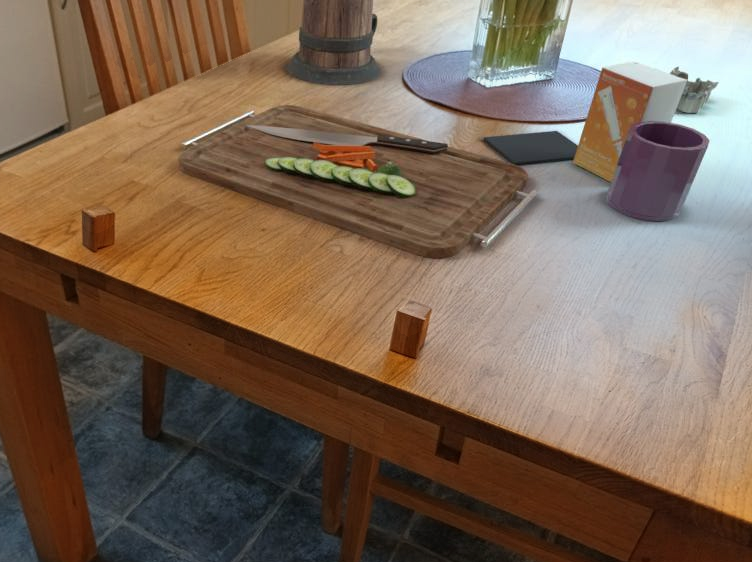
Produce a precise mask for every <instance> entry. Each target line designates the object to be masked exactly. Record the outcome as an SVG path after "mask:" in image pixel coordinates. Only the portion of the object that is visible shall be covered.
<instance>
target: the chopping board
mask: <svg viewBox="0 0 752 562" xmlns="http://www.w3.org/2000/svg"><path fill="white" fill-rule="evenodd" d="M181 148H182V149H184V150H183V151H181V152H180V153H179V155H178V167H179V169H180V171H181V172H183V173H184V174H186V175H188V176H192V177H194V178H197V179H200V180H203V181H205V182H209V183H211V184H214V185H216V186H219V187H222V188H225V189H229V190H231V191H233V192H237V193H240V194H243V195H245V196H249V197H252V198H254V199H257V200H260V201H262V202H264V203H265V202H266V203H269V204H272V205H274V206H276V207H280V208H281V209H282V208H283V209H285V210H288V211H291V212H294V213H297V214H300V215H303V216H305V217H308V218H311V219H314V220H317V221H320V222H323V223H326V224H329V225H331V226H334V227H337V228H340V229H343V230H346V231H349V232H351V233H353V234H357V235H360V236H363V237H366V238H367V239H368V238H369V239H371V240H374V241H377V242H380V243H382V244H385V245H389V246H390V247H393V248H397V249H400V250H403V251H404V252H405V251H406V252H408V253H411V254H414V255H417V256H420V257H425V258H428V259H429V258H430V259H445V258H450V257H453V256H455V255H458V254H459V253H460V252H461V251H462V250H463V249H464V248H466V246H468V244H469V243H470V242H471V241H472V240H473V239H477V240H480V241H481V242H480V246H481V247H482V248H488V246H489V245H490V244H491V243H492V242H493V241H494V240H495V239H496V238H497V237H498V236H499V235H500V234H501V233H502V231H504V229H505V228H506V227H507V226H509V224H510V223H512V221H513V220H514V219H515V218H517V216H518V215H519V214H520V213H521V212H522V211H523V210H524V209H525V208H526V207H527V205H529V204H530V202H531V201H533V199H534V198H535V197H537V196H538V192H537V190H535V189H532V190H531V191H529V193H526V192H523V190H524V189H525V186H526V183H527V181H528V180H527V179H528V176H529V174H528V172H527V171H526V169H524V168H523V167H521V166H520V165H514V164H512V163H511V162H508V161H504V160H500V159H498V158H492V157H490V156H486V155H482V154H478V153H474V152H470V151H466V150H463V149H459V148H456V147H452V146H449V144H448V143H446V142H445V143H444V142H438V141H430V140H427V139H422V138H420V137H415V136H412V135H408V134H405V133H401V132H397V131H393V130H389V129H386V128H382V127H377V126H374V125H371V124H368V123H363V122H360V121H356V120H354V119H353V120H352V119H349V118H346V117H342V116H338V115H334V114H331V113H327V112H323V111H319V110H316V109H311V108H308V107H304V106H300V105H295V104H283V105H282V104H281V105H277V106H273V107H271V108H268V109H267V110H264V111H262V112H260V113H258V114H255V111H254V110H253V109H250V110H248V111H246V112H244V113H242V114H241V115H238V116H236V117H233V118H232V119H230V120H227V121H225V122H223V123H221V124H219V125H217V126H215V127H213V128H211V129H208V130H206V131H204V132H202V133H200V134H198V135H195V136H194V137H192V138H190V139H188V140H186V141H183V142H182V143H181ZM517 196H519V197H521V198H522V199H521V201H520V202H519V203H518V204H517V205H516V206H514V208H513V209H512V210H511V211H510V212H509V213H508V214H507V215H506V216H505V217H504V218H503V219H502V220H501V221H500V222H499V223H498V224H497V225H496V226H495V227H494V228H493V229H492V230H491V231H490V232H489V233H488V234H487V235H486V236H485V235H483V234H480V233H481V232H482V231H483V229H484V228H486V226H487V225H488V224H489V223H491V221H493V219H494V218H496V216H498V215H499V214H500V212H502V210H504V208H506V206H507V205H508V204H510V203H511V202H512V201H513V200H514V198H516V197H517Z"/></svg>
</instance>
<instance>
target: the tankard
mask: <svg viewBox="0 0 752 562" xmlns="http://www.w3.org/2000/svg"><path fill="white" fill-rule="evenodd" d="M373 10H374V0H303V2H302V13H301V14H302V15H301V17H302V18H301V26H300V27H299V31H298V42H299V47H298V49H299V50H298V51H296V52H295V54H294V55H293V56H292V59H291V60H290V61H289V62H288V63H287V65H286V71H287V72H288V73H289V75H290V76H293V77H295V78H297V79H299V80H303V81H305V82H311V83H316V84H321V85H337V86H339V85H340V86H342V85H357V84H362V83H367V82H370V81H373V80H374V79H377V78H378V77H379V76H380V75H381V68H380V67H379V66H378V65H377V63H376V59H375V57H374V56H373V55H372V54H371V48H372V44H373V38H374V36H375V34H376V31H377V28H378V19H379V18H378V15H377V14H376V13H374V11H373Z"/></svg>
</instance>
